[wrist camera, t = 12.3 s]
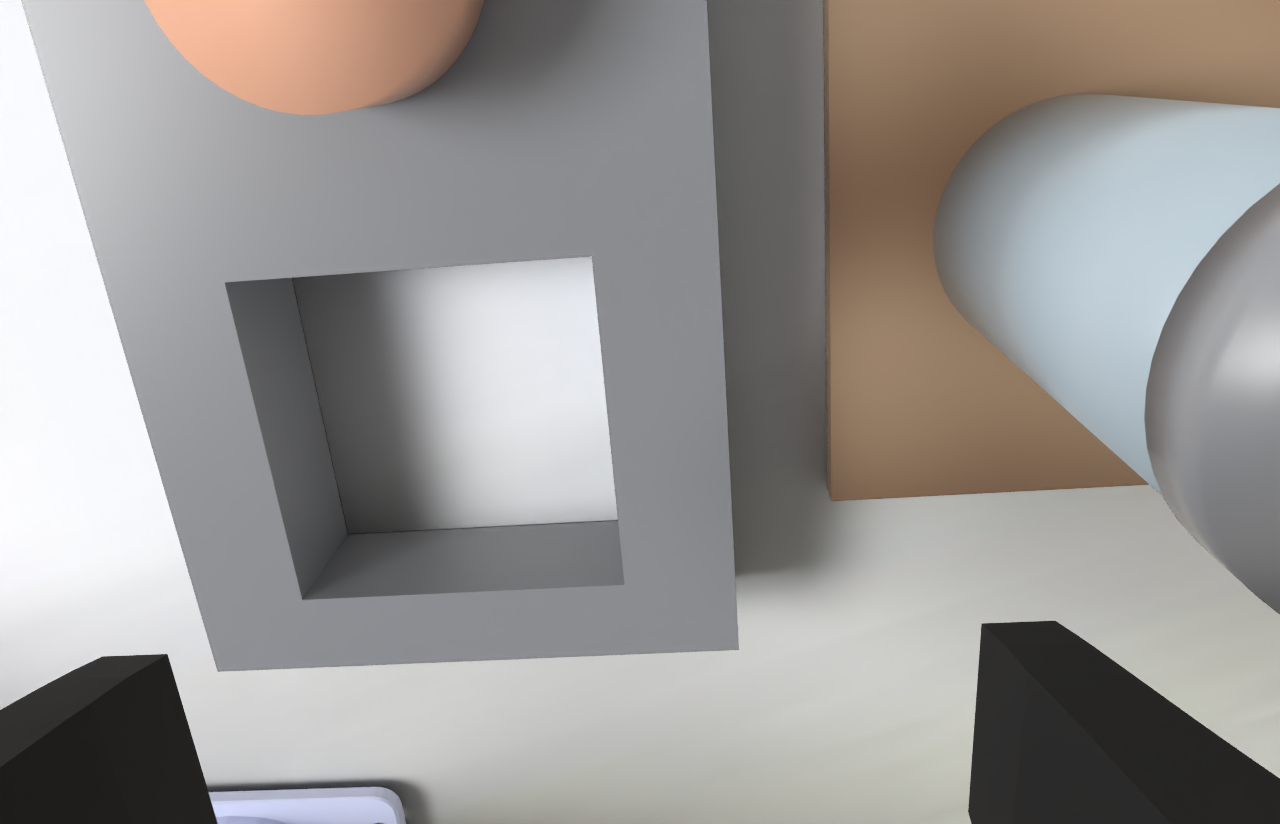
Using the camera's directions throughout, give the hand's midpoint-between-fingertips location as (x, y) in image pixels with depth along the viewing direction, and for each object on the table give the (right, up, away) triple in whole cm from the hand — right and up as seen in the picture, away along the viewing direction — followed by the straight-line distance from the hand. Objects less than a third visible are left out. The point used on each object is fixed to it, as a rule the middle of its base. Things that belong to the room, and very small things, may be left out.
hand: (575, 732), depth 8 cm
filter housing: (-3, +7, +9) cm, 11 cm away
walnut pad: (+8, +6, +8) cm, 13 cm away
